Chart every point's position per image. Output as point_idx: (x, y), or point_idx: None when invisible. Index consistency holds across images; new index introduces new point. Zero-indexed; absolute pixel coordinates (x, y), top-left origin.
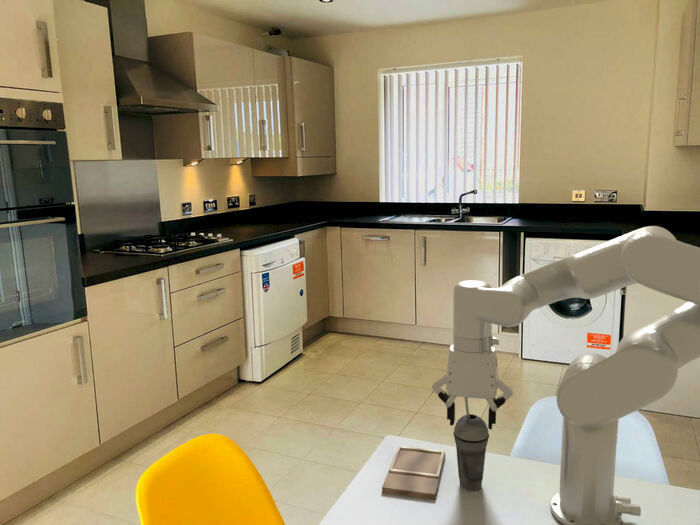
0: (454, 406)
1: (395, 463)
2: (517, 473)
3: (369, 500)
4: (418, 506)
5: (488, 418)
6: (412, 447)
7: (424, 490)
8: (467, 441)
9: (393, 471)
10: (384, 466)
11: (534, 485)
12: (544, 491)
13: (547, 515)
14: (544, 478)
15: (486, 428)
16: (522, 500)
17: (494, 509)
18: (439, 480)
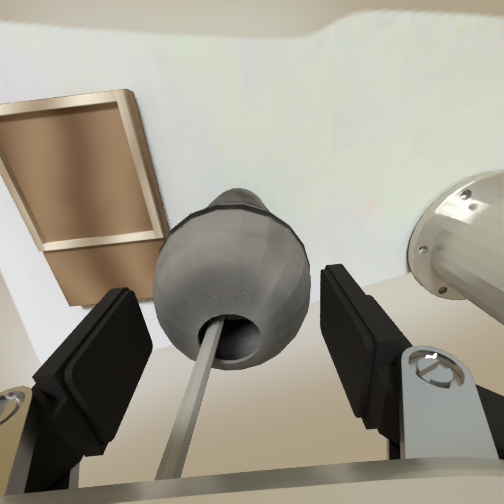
0: (93, 387)
1: (31, 208)
2: (348, 115)
3: (72, 326)
4: None
5: (339, 377)
6: (15, 103)
7: None
8: (234, 339)
9: (52, 249)
10: (11, 204)
11: (387, 163)
12: (407, 183)
13: (397, 266)
14: (418, 117)
15: (308, 306)
16: (353, 234)
17: None
18: (166, 225)
